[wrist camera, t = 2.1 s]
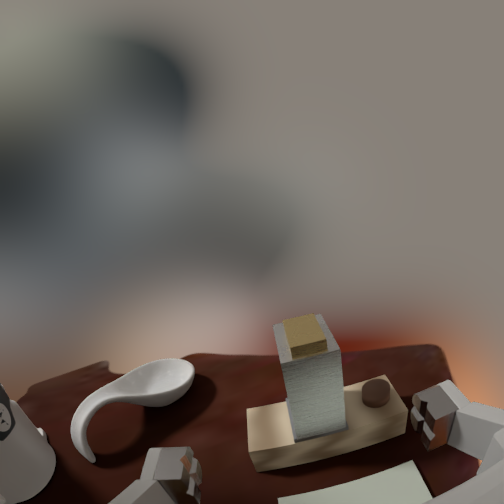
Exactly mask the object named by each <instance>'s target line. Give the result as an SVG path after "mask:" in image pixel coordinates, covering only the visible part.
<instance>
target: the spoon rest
mask: <svg viewBox="0 0 504 504" xmlns="http://www.w3.org/2000/svg"><path fill="white" fill-rule="evenodd" d="M194 375H195V369H194V366H193V365H192V364H191V363H190V362H188V361H185V360H181V359H173V358H172V359H161V360H156V361H153V362H150V363H147V364H144V365H142V366H140V367H138V368H136V369H134V370H132V371H130V372H129V373H127V374H125V375H124V376H122V377H120V378H119V379H117V380H115V381H113V382H111V383H109V384H107V385H106V386H104V387H102V388H100V389H98V390H97V391H95V392H94V393H92V394H91V395H89V396H88V397H87V398H86V399H85V400H84V401H83V402H82V403H81V404H80V406H79V407H78V409H77V410H76V412H75V414H74V416H73V419H72V422H71V437H72V441H73V443H74V445H75V447H76V448H77V450H78V451H79V452H80V453H81V454H82V455H83V456H84V457H85V458H86V459H88V460H89V461H90V462H92V463H94V462H95V461H96V459H95V456H94V454H93V452H92V451H91V449H90V447H89V445H88V443H87V439H86V430H87V426H88V424H89V422H90V420H91V418H92V417H93V415H94V414H95V413H96V412H97V411H98V410H99V409H100V408H101V407H102V406H104V405H106V404H109V403H113V402H126V403H132V404H137V405H142V406H148V407H162V406H166V405H169V404H171V403H173V402H175V401H176V400H178V399H179V398H181V397H182V396H183V395H184V394H185V393H186V392H187V390H188V389H189V388H190V386H191V384H192V382H193V379H194Z"/></svg>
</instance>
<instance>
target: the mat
mask: <svg viewBox="0 0 504 504" xmlns="http://www.w3.org/2000/svg"><path fill="white" fill-rule="evenodd" d="M431 499H433V498H432V496H431V494H430V492H429V490H428V488H427V486H426V485H425V483H424V481H423V479H422V477H421V475H420V473H419V471H418V470H417V468H416V466H415V464H414V462H413V460H411V461H409V462H406V463H404V464H401V465H399V466H396V467H393V468H391V469H388V470H385V471H382V472H380V473H377V474H374V475H371V476H368V477H365V478H361V479H358V480H355V481H351V482H348V483H344V484H341V485H337V486H333V487H329V488H325V489H321V490H317V491H313V492H308V493H303V494H299V495H293V496H288V497H282V498H278V503H279V504H422V503H424V502H427V501H429V500H431Z"/></svg>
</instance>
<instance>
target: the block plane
mask: <svg viewBox="0 0 504 504" xmlns="http://www.w3.org/2000/svg"><path fill="white" fill-rule="evenodd" d="M343 389H344V404H345V421H346V427H345V428H342V429H338V430H335V431H331V432H327V433H323V434H319V435H315V436H311V437H307V438H302V439H298V440H297V437H296V433H295V428H294V423H293V418H292V414H291V409H290V404H289V400H288V398H286V402H281V403H277V404H272V405H266V406H261V407H256V408H250V409H247V424H248V447H249V454H250V457H251V459H252V462H253V464H254V467H255V469H256V472H261V471H268V470H274V469H279V468H285V467H290V466H295V465H300V464H304V463H309V462H313V461H317V460H321V459H325V458H329V457H333V456H337V455H341V454H344V453H348V452H351V451H354V450H358V449H361V448H364V447H367V446H370V445H373V444H376V443H379V442H382V441H385V440H388V439H390V438H393V437H396V436H399V435H401V434H404V433H405V429H406V422H407V415H408V409H407V408H406V406H405V404H404V403H403V401H402V400H401V398H400V397H399V395H398V394H397V392H396V391H395V389H394V388H393V386H392V385H391V383H390V382H389V380H388V379H387V377H386V376H385V375H382V376H379V377H376V378H373V379H370V380H366V381H363V382H360V383H357V384H353V385H350V386H346V387H343Z"/></svg>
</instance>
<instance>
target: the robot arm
mask: <svg viewBox="0 0 504 504" xmlns="http://www.w3.org/2000/svg"><path fill="white" fill-rule="evenodd" d="M412 403H413V405H414V407H413V408H412V410H411V416H410V417H411V423H412V425H413V428H414V430H415V431H416V432H417V433H419V434H422V437H421V441H422V443H423V444H424V446H425V447H426V449H427V451H430V450H433V449H435V448H437V447H439V446H442V445H444V444H446V443H448V444H449V445H451V446H453V447H455V448H457V449H459V450H461V451H463V452H465V453H467V454H469V455H471V456H474V457H476V458H478V459H480V460H482V463H481V465H480V467H479V469H478V471H477V476H475V477H473V478H472V479H470V480H468V481H466V482H464V483H463V484H461V485H459V486H457V487H455V488H453V489H451V490H449V491H448V492H446V493H444V494H442V495H439V496H437V497H435V498H433V499H431V500H429V501H427V502H424V503H422V504H504V410H503V409H500V408H496V407H491V406H488V405H484V404H480V403H477V402H472V403H470V401H469V400H468V399H467V398H466V397H465V396H464V395H463V394H462V393H461V392H460V390H459V389H458V388H457V387H456V386H455V385H454V384H453V383H452V382H451V381H450V380H446V381H444V382H442V383H440V384H437V385H435V386H433V387H430V388H428V389H426V390H423V391H421V392H419V393H416V394H414V395H413V398H412ZM55 465H56V457H55V453H54V450H53V449H52V447H51V446H50V445H49V444H48V442H47V436H46V433H45V432H44V431H43V430H42V429H41V428H36V427H35V426H34V425H33V423H32V422H31V421H30V420H29V418H28V417H27V416H26V415H25V413H24V412H23V411H22V409H21V408H20V407H19V405H18V404H17V403H16V402H15V401H12V400H10V399H9V397H8V395H7V394H6V392H5V389H4V387H3V386H2V384H1V383H0V504H15V503H19V502H22V501H25V500H28V499H30V498H32V497H33V496H35V495H36V494H38V493H39V492H40V491H41V490H42V489H43V488H44V487H45V486H46V485H47V483H48V482H49V480H50V479H51V477H52V475H53V472H54V469H55ZM201 482H202V471H201V466H200V464H199V462H198V460H197V459H195V458H193V451H192V450H191V448H190V447H170V448H150V449H149V450H148V453H147V456H146V460H145V463H144V467H143V470H142V474H141V478H140V480H136V481H134V482H133V483H132V484H131V485H130V486H129V487H128V488H126V489H125V490H124V491H123V492H122V493H120V494H119V495H118V496H117V497H116V498H114V499H113V500H112V501H111V502H110V503H108V504H200V494H201V490H200V489H199V487H198V485H199V484H200V483H201Z"/></svg>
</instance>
